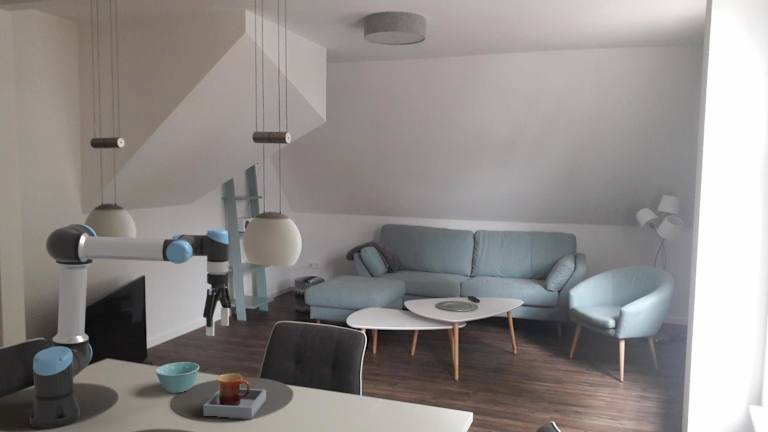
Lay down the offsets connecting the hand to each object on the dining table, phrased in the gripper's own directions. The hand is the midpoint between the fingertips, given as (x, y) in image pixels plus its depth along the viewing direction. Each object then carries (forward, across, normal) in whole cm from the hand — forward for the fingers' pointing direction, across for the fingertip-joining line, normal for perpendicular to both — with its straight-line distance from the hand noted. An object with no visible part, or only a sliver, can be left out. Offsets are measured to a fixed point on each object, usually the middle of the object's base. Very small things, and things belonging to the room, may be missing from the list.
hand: (217, 330), depth 231 cm
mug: (+25, -6, -9) cm, 28 cm away
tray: (+26, -6, -9) cm, 28 cm away
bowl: (+27, +8, +19) cm, 34 cm away
